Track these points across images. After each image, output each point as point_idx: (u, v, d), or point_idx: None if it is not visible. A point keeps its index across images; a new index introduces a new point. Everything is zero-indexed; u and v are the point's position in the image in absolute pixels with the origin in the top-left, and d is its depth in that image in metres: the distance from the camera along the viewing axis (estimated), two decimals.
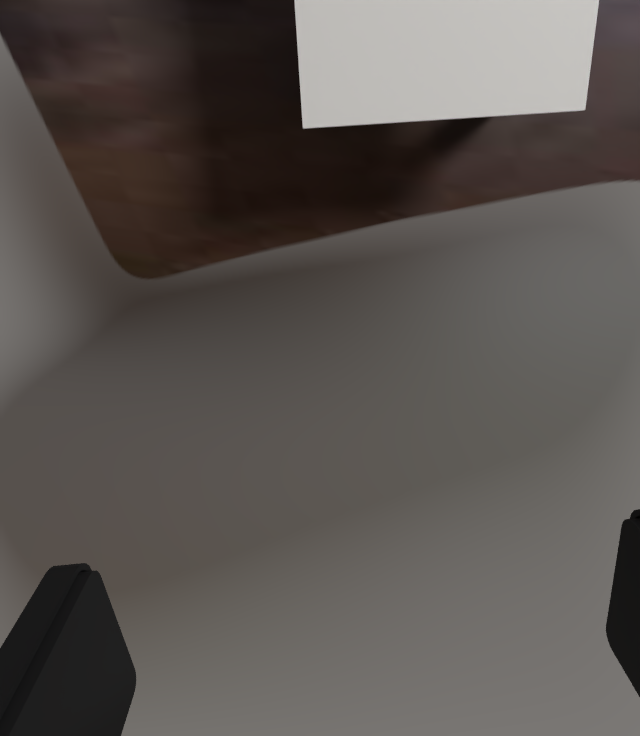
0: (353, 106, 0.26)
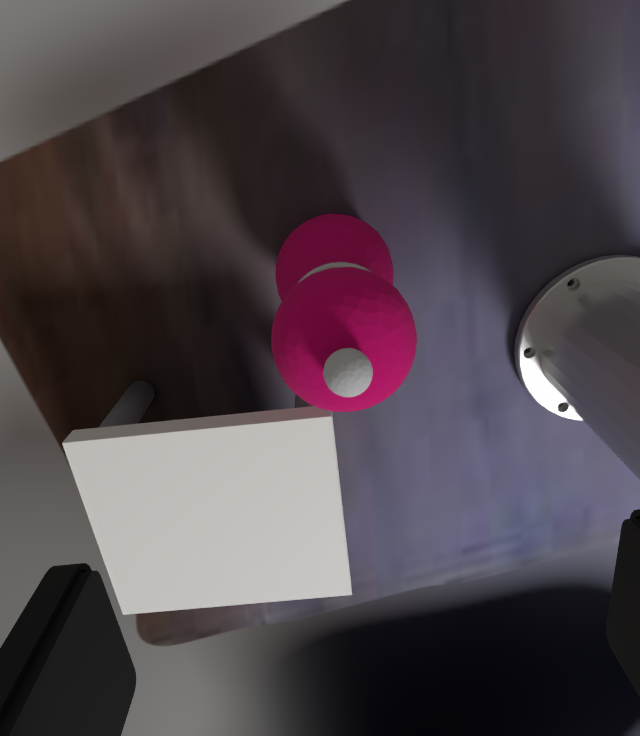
0: (87, 477, 0.32)
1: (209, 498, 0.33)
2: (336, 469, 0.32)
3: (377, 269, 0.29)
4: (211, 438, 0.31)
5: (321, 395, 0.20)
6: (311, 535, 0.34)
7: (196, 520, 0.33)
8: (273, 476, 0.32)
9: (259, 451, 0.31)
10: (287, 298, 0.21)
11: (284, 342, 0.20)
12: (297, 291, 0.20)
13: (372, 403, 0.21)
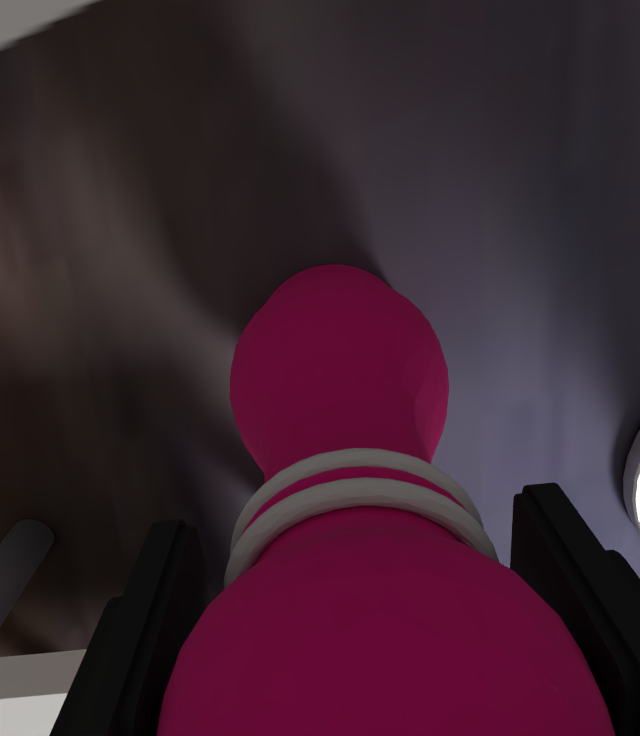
0: None
1: None
2: None
3: (427, 402, 0.14)
4: None
5: None
6: None
7: None
8: None
9: None
10: (194, 678, 0.06)
11: None
12: (225, 672, 0.06)
13: None
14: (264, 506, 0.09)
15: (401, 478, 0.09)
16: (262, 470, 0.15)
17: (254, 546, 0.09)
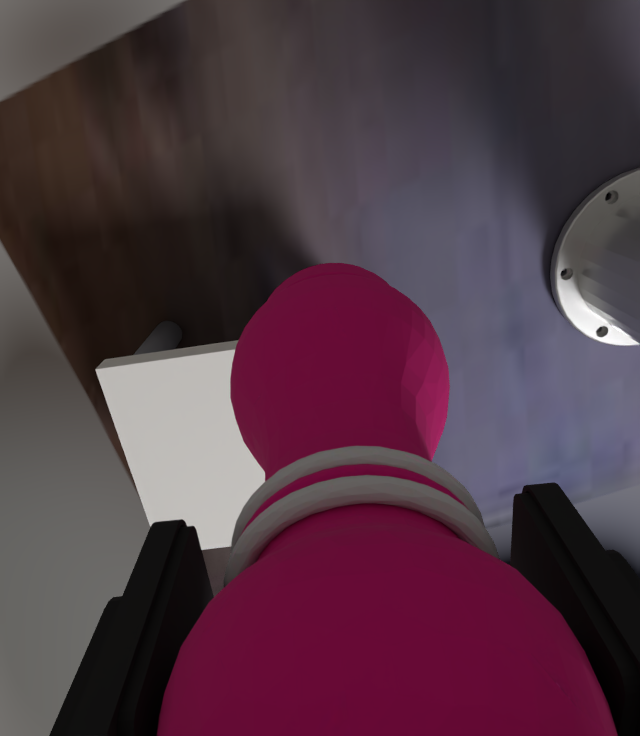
0: (121, 406, 0.31)
1: None
2: None
3: (428, 400, 0.14)
4: None
5: None
6: None
7: (233, 449, 0.33)
8: None
9: None
10: (195, 675, 0.06)
11: None
12: (224, 669, 0.06)
13: None
14: (264, 504, 0.09)
15: (402, 476, 0.09)
16: None
17: (254, 544, 0.09)
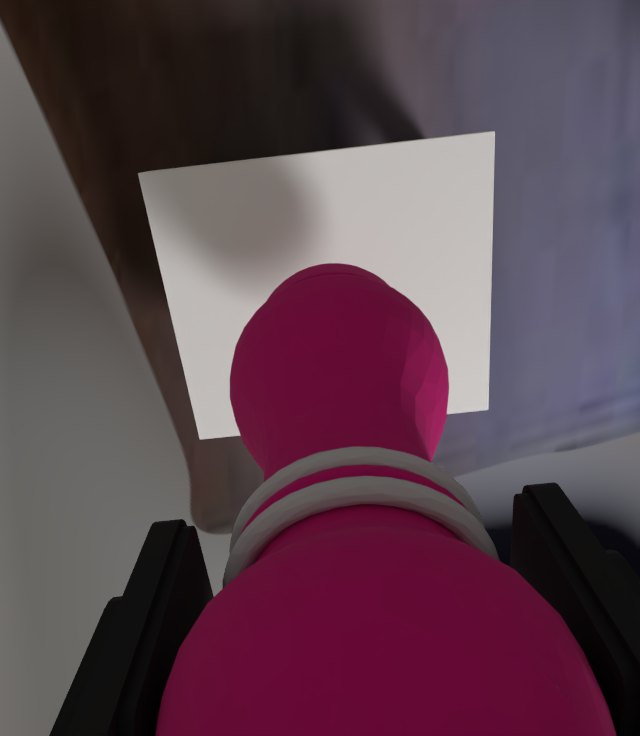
0: (168, 228, 0.25)
1: (323, 262, 0.25)
2: (491, 217, 0.25)
3: (428, 401, 0.14)
4: (334, 166, 0.24)
5: None
6: (447, 319, 0.27)
7: None
8: (409, 227, 0.25)
9: (394, 187, 0.24)
10: (193, 676, 0.06)
11: None
12: (222, 672, 0.06)
13: None
14: (263, 505, 0.09)
15: (401, 477, 0.09)
16: (262, 469, 0.15)
17: (253, 545, 0.09)
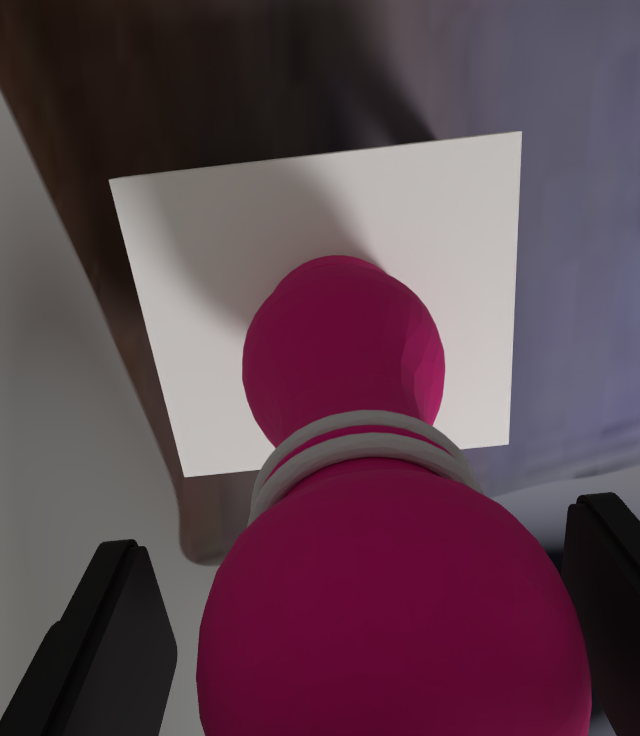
0: (144, 243, 0.21)
1: None
2: (515, 229, 0.22)
3: (425, 378, 0.15)
4: (335, 172, 0.20)
5: None
6: (464, 345, 0.23)
7: None
8: (421, 241, 0.22)
9: (405, 195, 0.21)
10: (234, 582, 0.07)
11: None
12: (261, 574, 0.07)
13: None
14: (282, 460, 0.11)
15: (403, 434, 0.10)
16: (273, 443, 0.17)
17: (275, 493, 0.10)
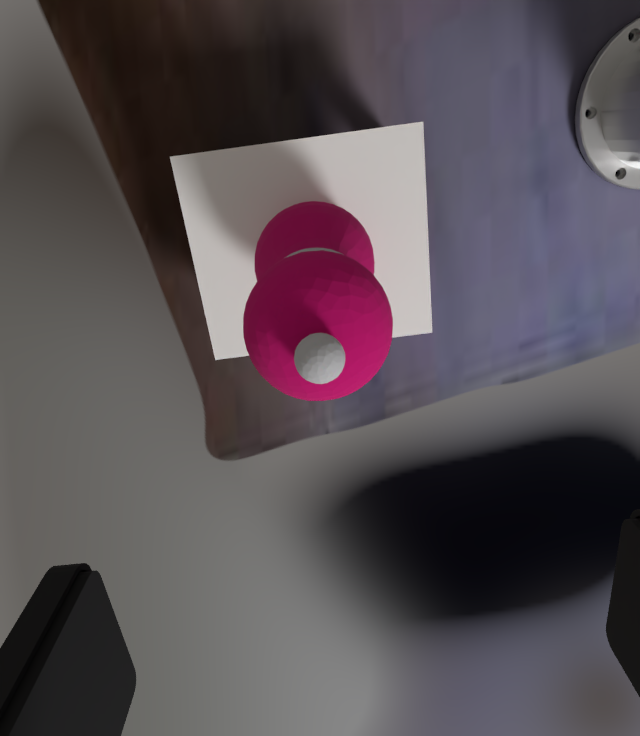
0: (191, 197, 0.34)
1: None
2: (424, 184, 0.34)
3: (356, 256, 0.28)
4: (309, 149, 0.33)
5: (295, 383, 0.20)
6: (397, 262, 0.36)
7: None
8: (365, 193, 0.34)
9: (353, 163, 0.34)
10: (257, 284, 0.20)
11: (254, 329, 0.19)
12: (267, 276, 0.20)
13: (348, 391, 0.20)
14: None
15: None
16: None
17: None
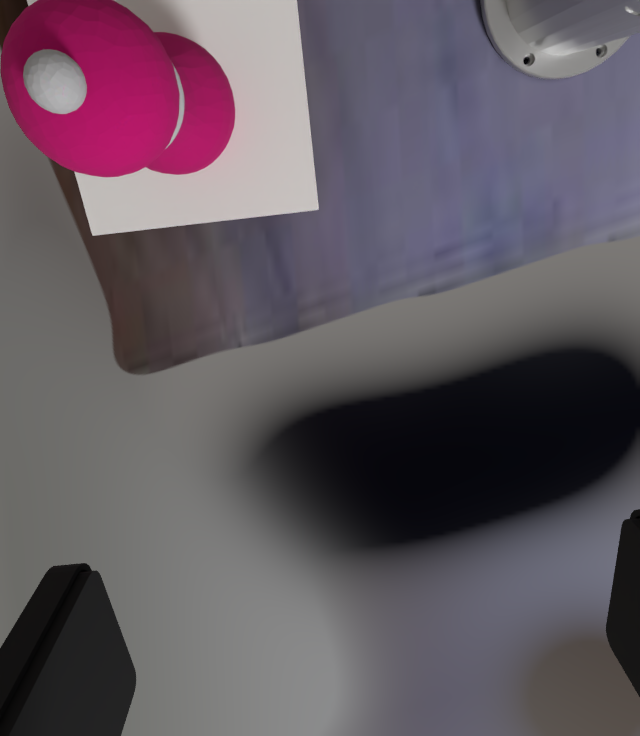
0: None
1: None
2: (299, 37, 0.32)
3: (195, 78, 0.26)
4: None
5: (50, 133, 0.18)
6: (276, 127, 0.34)
7: None
8: (237, 46, 0.32)
9: (222, 11, 0.32)
10: None
11: (2, 67, 0.18)
12: None
13: (118, 151, 0.19)
14: None
15: None
16: None
17: None
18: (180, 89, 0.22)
